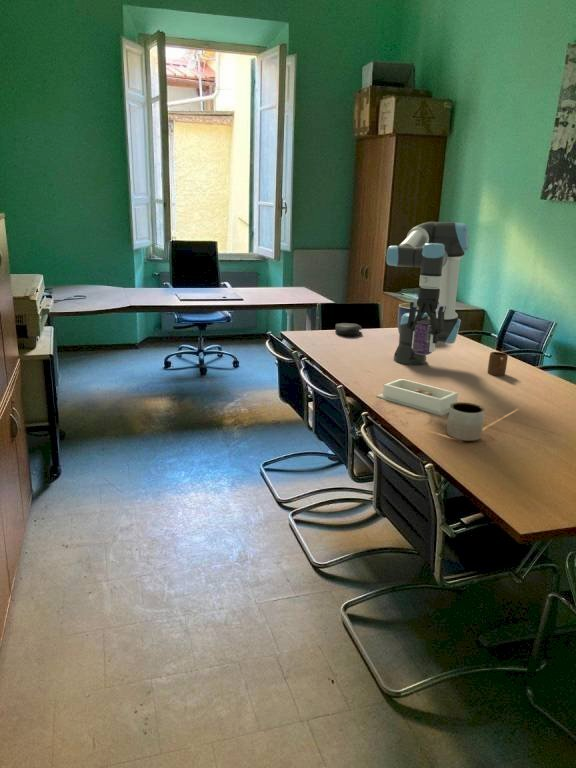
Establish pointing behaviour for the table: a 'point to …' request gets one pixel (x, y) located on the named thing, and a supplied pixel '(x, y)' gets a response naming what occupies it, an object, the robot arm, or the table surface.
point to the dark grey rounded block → (347, 329)
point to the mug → (497, 363)
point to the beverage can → (422, 337)
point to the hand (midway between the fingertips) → (422, 349)
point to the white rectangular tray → (419, 396)
